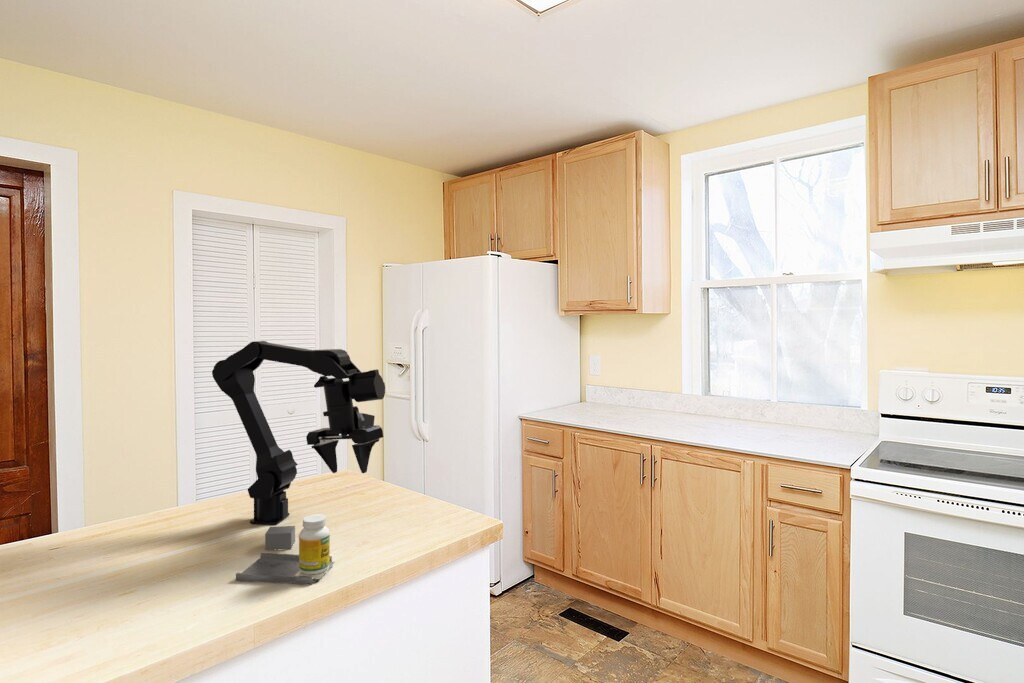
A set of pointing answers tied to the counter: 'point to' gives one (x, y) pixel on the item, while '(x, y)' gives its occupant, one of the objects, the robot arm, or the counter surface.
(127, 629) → the counter surface
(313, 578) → the grey flat tray
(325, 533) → the supplement bottle
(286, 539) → the block
